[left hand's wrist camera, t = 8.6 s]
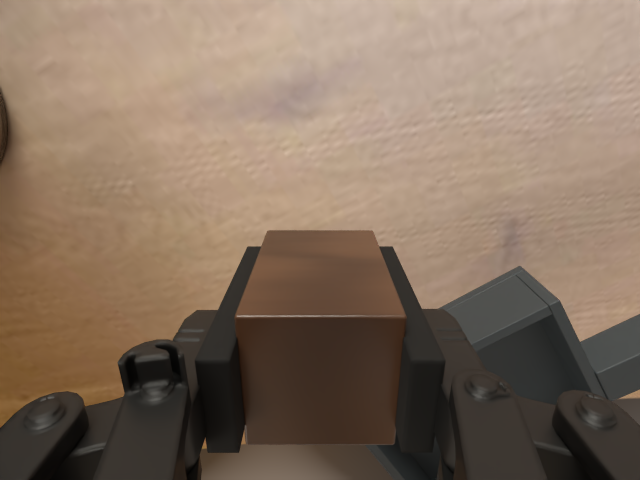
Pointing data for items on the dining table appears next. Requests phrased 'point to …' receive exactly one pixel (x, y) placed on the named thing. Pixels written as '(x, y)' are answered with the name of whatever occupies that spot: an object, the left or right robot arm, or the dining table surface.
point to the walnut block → (320, 341)
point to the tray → (530, 355)
